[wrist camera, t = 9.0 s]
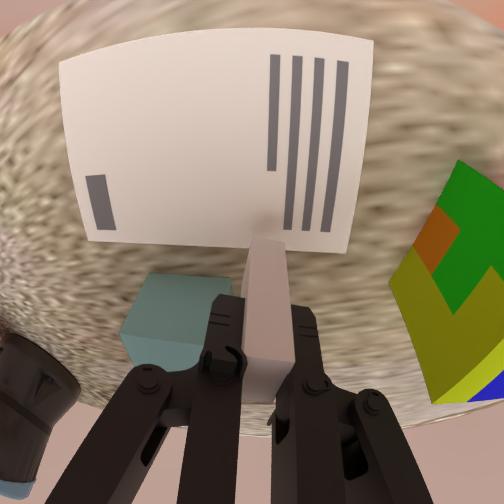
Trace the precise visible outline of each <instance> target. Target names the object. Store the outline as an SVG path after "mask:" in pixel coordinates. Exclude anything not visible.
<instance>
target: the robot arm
mask: <svg viewBox="0 0 504 504" xmlns="http://www.w3.org/2000/svg"><path fill="white" fill-rule="evenodd" d="M318 337H319V336H318V330H317V324H316V318H315V316H314V314H313V313H312V311H311V310H310V308H309V307H304V306H297V305H291V304H290V293H289V283H288V272H287V262H286V253H285V243H284V242H280V241H275V240H270V239H265V238H259V237H254V236H252V240H251V244H250V248H249V253H248V257H247V262H246V266H245V270H244V275H243V279H242V286H241V296H240V297H236V296H231V295H225V294H219V295H218V296H217V297H216V298H215V299H214V301H213V302H212V306H211V311H210V316H209V321H208V326H207V331H206V336H205V341H204V346H203V350H202V352H201V354H200V356H199V361H198V363H197V364H195V365H194V366H193V367H191V368H189V369H187V370H181V371H171V372H166V370H164V369H163V368H161V367H160V366H158V365H154V364H141V365H139V366H136V367H134V368H133V369H132V370H131V371H130V372H129V373H128V374H127V376H126V377H125V379H124V380H123V382H122V383H121V385H120V386H119V388H118V389H117V391H116V392H115V394H114V395H113V397H112V398H111V400H110V401H109V403H108V404H107V406H106V407H105V409H104V410H103V412H102V413H101V415H100V416H99V418H98V419H97V421H96V422H95V424H94V425H93V427H92V428H91V430H90V431H89V433H88V435H87V437H86V438H85V439H84V441H83V442H82V444H81V445H80V447H79V449H78V450H77V452H76V454H75V455H74V457H73V458H72V460H71V461H70V463H69V464H68V466H67V468H66V469H65V471H64V472H63V474H62V476H61V477H60V479H59V481H58V482H57V484H56V486H55V487H54V489H53V490H52V492H51V494H50V495H49V497H48V499H47V500H46V502H45V504H131V503H132V501H133V500H134V498H135V496H136V494H137V492H138V490H139V488H140V486H141V484H142V482H143V480H144V479H145V477H146V474H147V473H148V471H149V469H150V467H151V465H152V463H153V461H154V459H155V457H156V455H157V454H158V452H159V450H160V448H161V446H162V444H163V442H164V440H165V438H166V436H167V434H168V432H169V430H170V428H171V427H177V426H187V425H188V431H187V438H186V444H185V450H184V457H183V463H182V469H181V476H180V483H179V490H178V497H177V504H235V489H236V475H237V459H238V444H239V429H240V414H241V400H246V401H254V402H264V403H273V401H274V399H275V397H276V409H275V410H274V412H273V413H272V415H271V416H270V418H269V420H268V423H267V426H270V425H271V423H272V464H271V468H272V469H271V504H433V501H432V498H431V496H430V493H429V491H428V489H427V486H426V484H425V481H424V479H423V477H422V474H421V472H420V469H419V467H418V465H417V463H416V460H415V458H414V456H413V453H412V451H411V449H410V447H409V445H408V442H407V440H406V438H405V436H404V433H403V431H402V429H401V427H400V425H399V423H398V421H397V418H396V416H395V414H394V412H393V410H392V408H391V406H390V404H389V402H388V400H387V399H386V397H385V396H384V395H383V394H382V393H381V392H379V391H378V390H374V389H364V390H362V391H360V392H359V393H358V394H355V393H352V392H349V391H346V390H343V389H341V388H339V387H336V386H335V385H334V384H332V382H331V380H330V378H329V377H328V376H327V375H326V374H325V373H324V369H323V362H322V356H321V349H320V342H319V339H318ZM79 394H80V387H79V385H78V383H77V381H76V380H75V379H74V378H73V376H72V375H71V374H70V373H69V372H68V371H67V370H66V369H65V368H64V367H63V366H62V365H61V364H59V363H58V362H57V361H56V360H55V359H54V358H52V357H51V356H50V355H49V354H47V353H46V352H45V351H43V350H42V349H40V348H39V347H38V346H36V345H35V344H33V343H31V342H30V341H28V340H26V339H24V338H22V337H20V336H18V335H15V334H11V333H8V334H6V335H5V336H4V338H3V339H2V341H1V342H0V495H3V496H5V497H8V498H12V499H17V500H21V499H25V498H27V497H28V496H29V494H30V491H31V489H32V486H33V484H34V483H35V481H36V475H37V472H38V469H39V466H40V462H41V459H42V457H43V454H44V451H45V448H46V445H47V442H48V440H49V436H50V434H51V431H52V429H53V427H54V425H55V424H56V423H57V422H58V421H59V420H60V419H61V418H62V416H63V415H64V414H65V413H66V412H67V411H68V410H69V409H70V408H71V407H72V406H73V405H74V404H75V402H76V401H77V398H78V396H79Z"/></svg>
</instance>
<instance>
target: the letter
mask: <svg viewBox="0 0 504 504" xmlns="http://www.w3.org/2000/svg"><path fill="white" fill-rule="evenodd" d="M372 65H373V41H372V40H367V39H362V38H357V37H351V36H346V35H339V34H333V33H326V32H318V31H308V30H297V29H282V28H222V29H207V30H196V31H187V32H178V33H171V34H165V35H158V36H153V37H147V38H142V39H137V40H133V41H128V42H124V43H120V44H116V45H112V46H108V47H104V48H101V49H97V50H94V51H90V52H87V53H84V54H81V55H78V56H75V57H72V58H69V59H66V60H64V61H61V62H59V78H60V94H61V106H62V115H63V124H64V132H65V139H66V145H67V151H68V157H69V163H70V168H71V173H72V178H73V183H74V188H75V192H76V196H77V201H78V205H79V209H80V213H81V217H82V220H83V224H84V228H85V231H86V235H87V238H88V241H100V242H122V243H144V244H165V245H186V246H207V247H228V248H248V249H249V248H250V244H251V240H252V236H254V237H259V238H265V239H270V240H275V241H280V242H284V243H285V250H288V251H307V252H327V253H346V250H347V246H348V241H349V237H350V232H351V227H352V222H353V217H354V211H355V206H356V200H357V195H358V189H359V183H360V177H361V170H362V164H363V157H364V149H365V142H366V134H367V125H368V116H369V106H370V94H371V81H372Z"/></svg>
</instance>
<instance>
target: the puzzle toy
mask: <svg viewBox="0 0 504 504" xmlns="http://www.w3.org/2000/svg"><path fill="white" fill-rule="evenodd" d="M389 285H390V287H391V289H392V292H393V294H394V297H395V299H396V301H397V304H398V306H399V309H400V311H401V314H402V316H403V319H404V322H405V324H406V327H407V329H408V332H409V335H410V338H411V340H412V343H413V346H414V349H415V352H416V355H417V358H418V361H419V364H420V367H421V370H422V373H423V376H424V379H425V383H426V386H427V389H428V393H429V396H430V400H431V403H432V404H446V403H462V402H474V401H484V400H492V399H500V398H504V190H503V189H501V188H500V187H499V186H497V185H496V184H494V183H493V182H492V181H490V180H489V179H487V178H486V177H484V176H483V175H482V174H480V173H479V172H477V171H476V170H474V169H472V168H471V167H469V166H468V165H466V164H465V163H463V162H461V161H460V160H458V161H457V163H456V166H455V168H454V170H453V172H452V174H451V176H450V178H449V180H448V182H447V184H446V186H445V188H444V190H443V192H442V194H441V196H440V198H439V200H438V202H437V203H436V205H435V207H434V209H433V211H432V213H431V214H430V216H429V218H428V220H427V221H426V223H425V225H424V227H423V228H422V230H421V232H420V234H419V235H418V237H417V239H416V240H415V242H414V244H413V245H412V247H411V248H410V250H409V252H408V253H407V255H406V256H405V258H404V260H403V261H402V263H401V264H400V266H399V267H398V269H397V270H396V272H395V273H394V275H393V276H392V278H391V279H390V281H389Z"/></svg>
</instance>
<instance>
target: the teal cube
mask: <svg viewBox="0 0 504 504" xmlns="http://www.w3.org/2000/svg"><path fill="white" fill-rule="evenodd" d="M219 294H225V295H231V296H232V286H231V278H220V277H204V276H189V275H175V274H161V273H149V275H148V277H147V278H146V280H145V282H144V284H143V286H142V288H141V290H140V292H139V294H138V296H137V298H136V299H135V301H134V303H133V305H132V307H131V309H130V311H129V313H128V315H127V317H126V319H125V321H124V323H123V325H122V328H121V330H120V332H119V336H120V338H121V340H122V342H123V344H124V346H125V348H126V351H127V353H128V355H129V357H130V359H131V361H132V363H133V365H134V367H136V366H139V365H141V364H154V365H158V366H160V367H161V368H163V369H164V370H166V372H171V371H181V370H187V369H189V368H191V367H193V366H194V365H195V364H197V363H198V361H199V356H200V354H201V352H202V350H203V346H204V341H205V336H206V331H207V326H208V321H209V316H210V311H211V306H212V302H213V301H214V299H215V298H216V297H217V296H218V295H219Z"/></svg>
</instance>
